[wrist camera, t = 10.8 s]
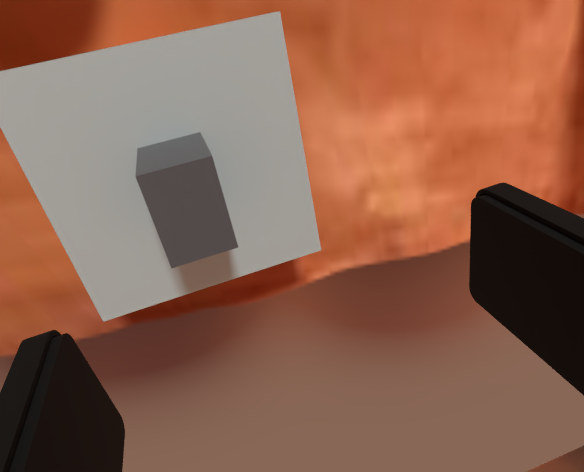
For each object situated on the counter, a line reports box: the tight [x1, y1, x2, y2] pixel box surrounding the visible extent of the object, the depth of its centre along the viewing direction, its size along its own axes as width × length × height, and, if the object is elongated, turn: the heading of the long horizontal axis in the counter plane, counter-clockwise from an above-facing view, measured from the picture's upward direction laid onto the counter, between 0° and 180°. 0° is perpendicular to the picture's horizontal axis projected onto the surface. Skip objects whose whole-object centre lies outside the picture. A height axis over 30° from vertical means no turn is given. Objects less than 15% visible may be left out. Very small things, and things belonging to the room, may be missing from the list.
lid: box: [0, 12, 321, 322], centre depth 23 cm, size 15×15×6 cm
